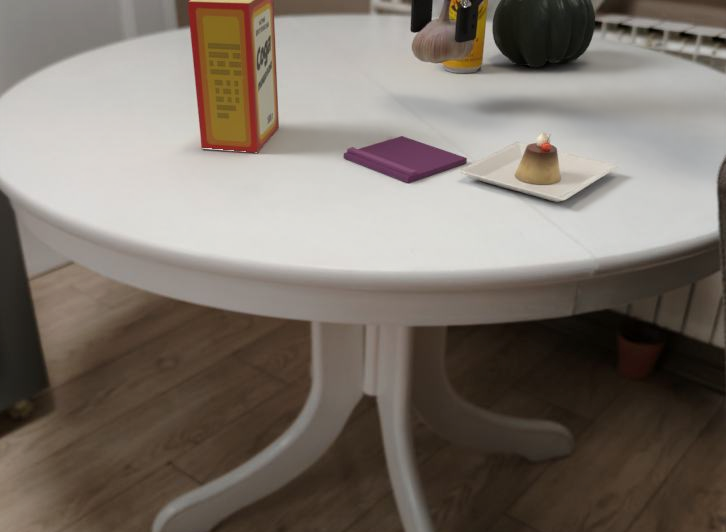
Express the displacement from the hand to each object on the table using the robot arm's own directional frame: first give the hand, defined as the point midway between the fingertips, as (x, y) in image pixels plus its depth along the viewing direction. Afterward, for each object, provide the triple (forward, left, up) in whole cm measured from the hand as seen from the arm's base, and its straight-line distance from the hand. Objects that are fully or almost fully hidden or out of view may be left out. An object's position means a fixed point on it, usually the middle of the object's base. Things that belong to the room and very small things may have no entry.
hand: (442, 34), depth 100 cm
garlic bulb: (0, 0, -3) cm, 3 cm away
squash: (+6, -30, -9) cm, 32 cm away
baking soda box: (+6, +26, -9) cm, 29 cm away
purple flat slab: (-12, +18, -9) cm, 23 cm away
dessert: (-24, +11, -9) cm, 28 cm away
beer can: (+11, -18, -9) cm, 23 cm away
